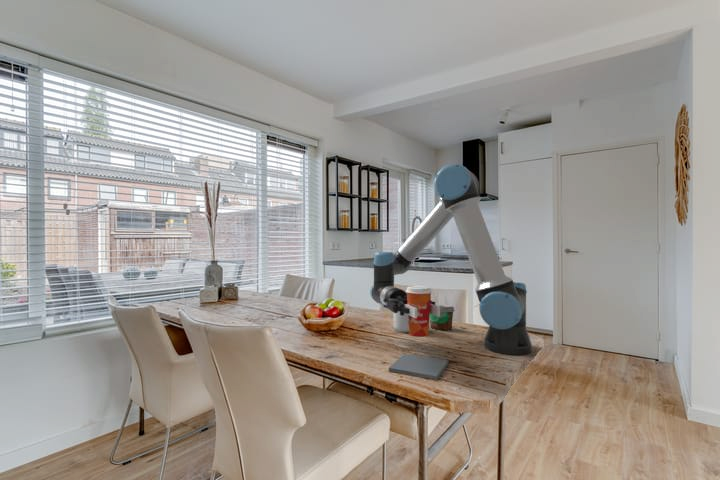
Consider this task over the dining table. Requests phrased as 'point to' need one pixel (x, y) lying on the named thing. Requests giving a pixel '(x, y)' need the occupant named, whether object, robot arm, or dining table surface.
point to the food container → (442, 319)
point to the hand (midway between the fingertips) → (427, 312)
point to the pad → (419, 366)
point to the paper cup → (419, 310)
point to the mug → (400, 322)
